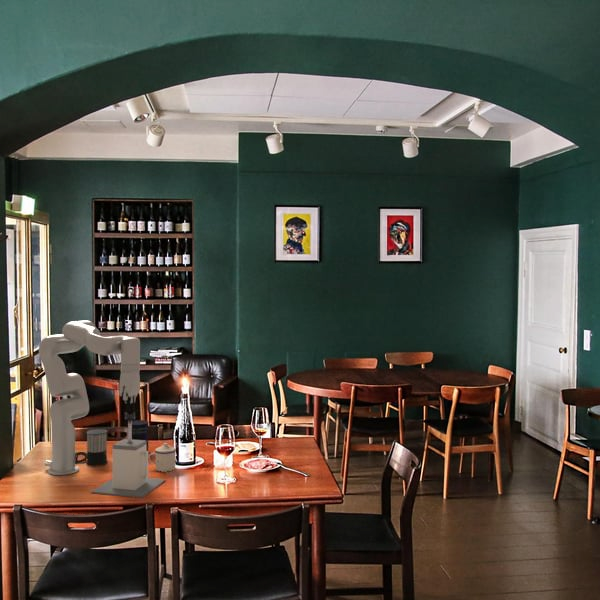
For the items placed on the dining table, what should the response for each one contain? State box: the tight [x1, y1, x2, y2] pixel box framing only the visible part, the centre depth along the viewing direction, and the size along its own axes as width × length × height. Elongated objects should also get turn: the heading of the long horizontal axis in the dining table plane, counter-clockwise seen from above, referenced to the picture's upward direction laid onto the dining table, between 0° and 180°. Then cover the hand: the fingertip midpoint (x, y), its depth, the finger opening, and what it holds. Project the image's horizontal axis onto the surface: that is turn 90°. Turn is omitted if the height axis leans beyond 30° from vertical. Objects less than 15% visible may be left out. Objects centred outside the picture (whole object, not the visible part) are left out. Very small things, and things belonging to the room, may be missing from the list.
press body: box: [111, 438, 149, 490], centre depth 268 cm, size 13×10×18 cm
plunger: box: [124, 411, 136, 443], centre depth 267 cm, size 4×4×18 cm
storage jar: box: [132, 419, 149, 452], centre depth 319 cm, size 10×10×15 cm
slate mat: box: [90, 477, 166, 499], centre depth 268 cm, size 22×22×1 cm
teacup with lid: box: [148, 442, 177, 473], centre depth 293 cm, size 12×9×12 cm
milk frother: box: [75, 428, 108, 467], centre depth 301 cm, size 14×16×15 cm
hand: (130, 412), depth 267 cm, fingers closed
